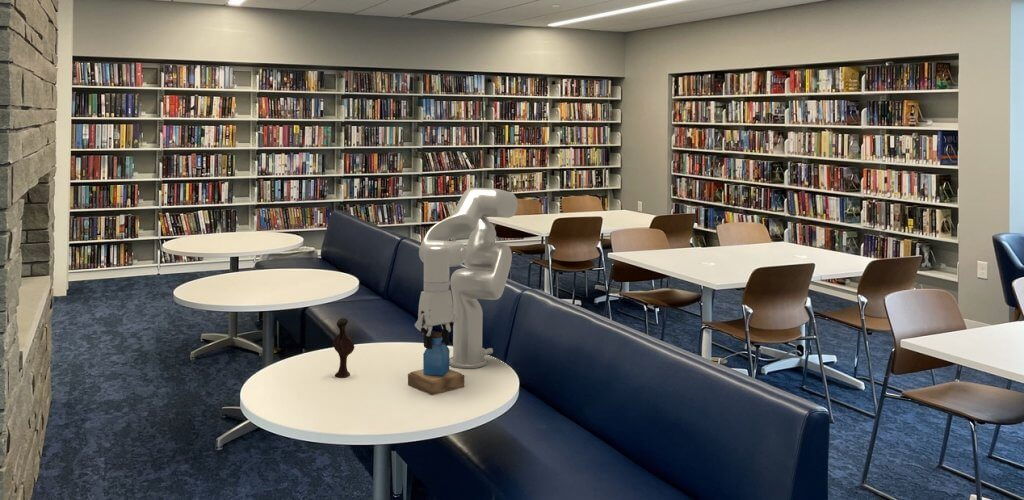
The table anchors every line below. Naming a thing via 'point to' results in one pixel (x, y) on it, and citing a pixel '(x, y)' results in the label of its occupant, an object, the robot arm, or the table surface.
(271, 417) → the table surface
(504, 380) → the table surface
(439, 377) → the pedestal
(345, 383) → the table surface
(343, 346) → the figurine
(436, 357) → the perfume bottle
